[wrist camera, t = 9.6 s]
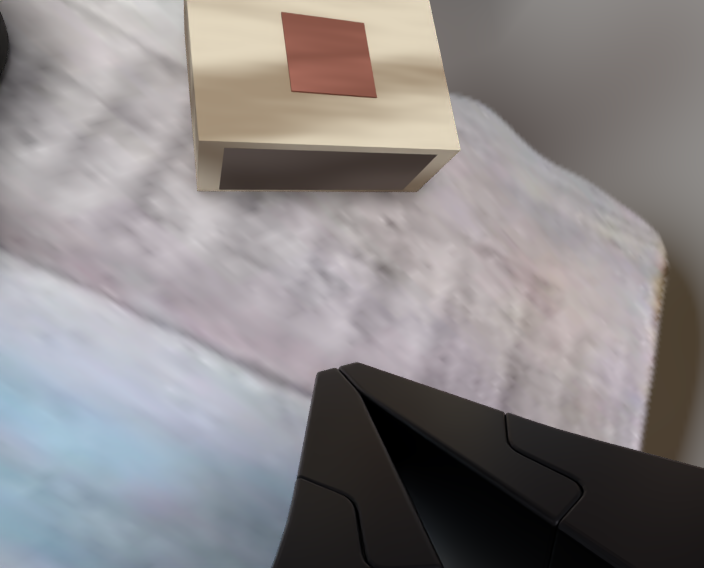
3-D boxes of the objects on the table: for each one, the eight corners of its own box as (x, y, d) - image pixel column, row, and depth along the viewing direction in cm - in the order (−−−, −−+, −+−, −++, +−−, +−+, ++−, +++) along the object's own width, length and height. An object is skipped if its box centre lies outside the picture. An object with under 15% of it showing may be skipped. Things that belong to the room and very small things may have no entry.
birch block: (461, 149, 22) (428, -9, 24) (198, 139, 18) (182, -50, 20) (414, 193, 27) (389, 58, 29) (197, 193, 23) (184, 36, 25)
